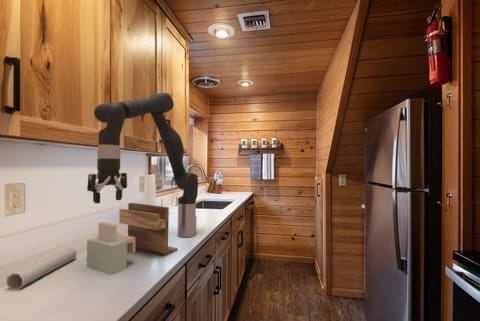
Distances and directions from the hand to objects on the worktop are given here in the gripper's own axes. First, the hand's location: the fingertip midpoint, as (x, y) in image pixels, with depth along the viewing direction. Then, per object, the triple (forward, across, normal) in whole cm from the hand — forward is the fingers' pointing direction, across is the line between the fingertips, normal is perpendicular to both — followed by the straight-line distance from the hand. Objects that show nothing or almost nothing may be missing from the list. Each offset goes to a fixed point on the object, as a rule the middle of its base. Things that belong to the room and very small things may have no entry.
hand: (108, 201), depth 92 cm
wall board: (+24, -19, 0) cm, 31 cm away
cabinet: (+24, -2, 0) cm, 24 cm away
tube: (+25, +12, -15) cm, 31 cm away
